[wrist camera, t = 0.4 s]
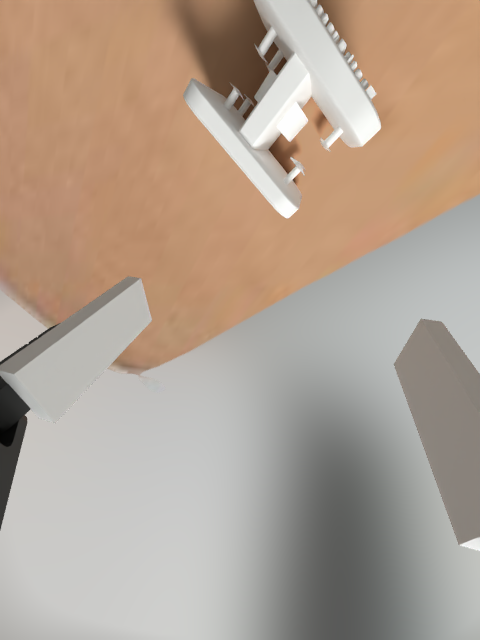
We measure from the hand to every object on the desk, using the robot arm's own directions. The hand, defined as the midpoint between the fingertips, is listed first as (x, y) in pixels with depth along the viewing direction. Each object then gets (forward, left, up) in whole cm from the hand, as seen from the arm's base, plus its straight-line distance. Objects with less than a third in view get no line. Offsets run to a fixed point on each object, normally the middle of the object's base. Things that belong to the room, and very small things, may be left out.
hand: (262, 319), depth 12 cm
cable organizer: (-10, -1, -27) cm, 29 cm away
